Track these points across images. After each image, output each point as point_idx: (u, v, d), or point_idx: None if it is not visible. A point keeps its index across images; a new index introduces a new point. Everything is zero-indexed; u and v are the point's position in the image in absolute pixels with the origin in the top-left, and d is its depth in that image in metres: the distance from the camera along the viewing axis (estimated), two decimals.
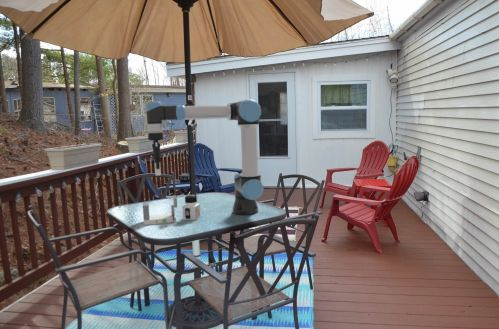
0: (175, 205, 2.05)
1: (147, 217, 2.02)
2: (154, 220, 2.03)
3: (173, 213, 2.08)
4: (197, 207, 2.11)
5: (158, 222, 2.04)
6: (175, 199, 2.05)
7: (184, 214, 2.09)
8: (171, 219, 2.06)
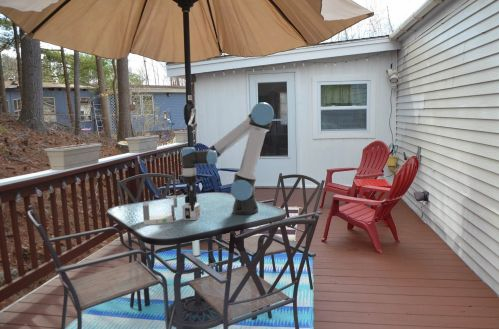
0: (175, 205, 2.05)
1: (147, 217, 2.02)
2: (154, 220, 2.03)
3: (173, 213, 2.08)
4: (197, 207, 2.11)
5: (158, 222, 2.04)
6: (175, 199, 2.05)
7: (184, 214, 2.09)
8: (171, 219, 2.06)
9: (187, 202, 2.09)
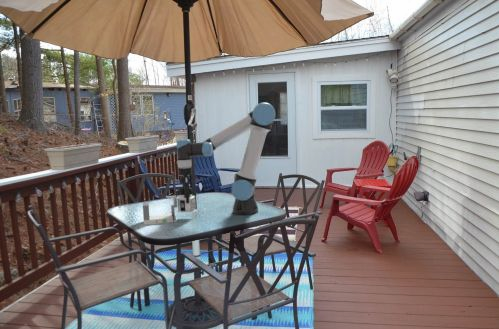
0: (175, 205, 2.05)
1: (147, 217, 2.02)
2: (154, 220, 2.03)
3: (173, 213, 2.08)
4: (192, 199, 2.10)
5: (158, 222, 2.04)
6: (175, 199, 2.05)
7: (179, 206, 2.08)
8: (171, 219, 2.06)
9: (182, 194, 2.08)
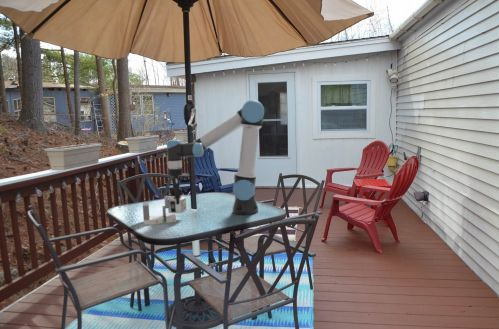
0: (166, 206, 2.04)
1: (147, 217, 2.02)
2: (154, 220, 2.03)
3: (164, 214, 2.07)
4: (183, 200, 2.08)
5: (158, 222, 2.04)
6: (166, 200, 2.04)
7: (169, 207, 2.07)
8: (171, 219, 2.06)
9: (173, 195, 2.06)
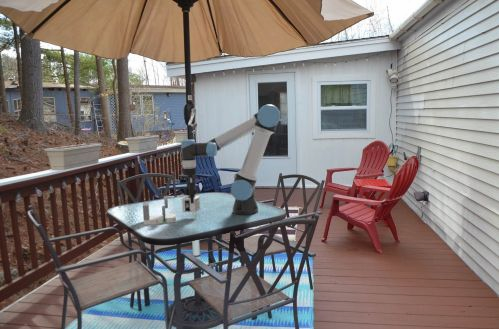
0: (166, 206, 2.04)
1: (147, 217, 2.02)
2: (154, 220, 2.03)
3: (164, 214, 2.07)
4: (197, 199, 2.10)
5: (158, 222, 2.04)
6: (166, 200, 2.04)
7: (184, 206, 2.09)
8: (171, 219, 2.06)
9: (187, 194, 2.08)
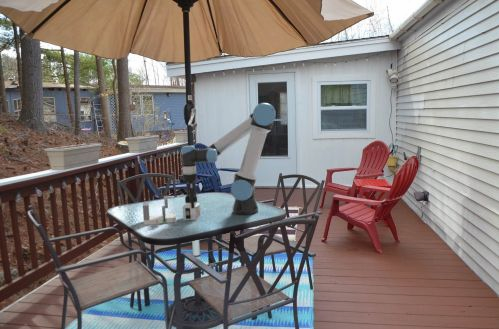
0: (166, 206, 2.04)
1: (147, 217, 2.02)
2: (154, 220, 2.03)
3: (164, 214, 2.07)
4: (197, 207, 2.11)
5: (158, 222, 2.04)
6: (166, 200, 2.04)
7: (184, 214, 2.09)
8: (171, 219, 2.06)
9: (187, 202, 2.09)
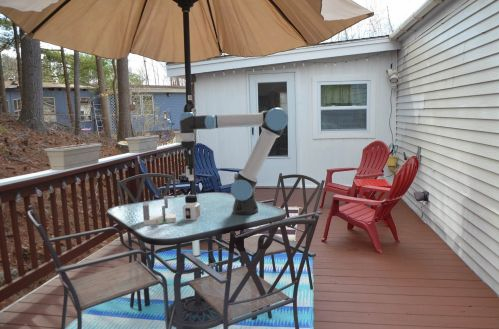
0: (166, 206, 2.04)
1: (147, 217, 2.02)
2: (154, 220, 2.03)
3: (164, 214, 2.07)
4: (197, 207, 2.11)
5: (158, 222, 2.04)
6: (166, 200, 2.04)
7: (184, 214, 2.09)
8: (171, 219, 2.06)
9: (187, 202, 2.09)
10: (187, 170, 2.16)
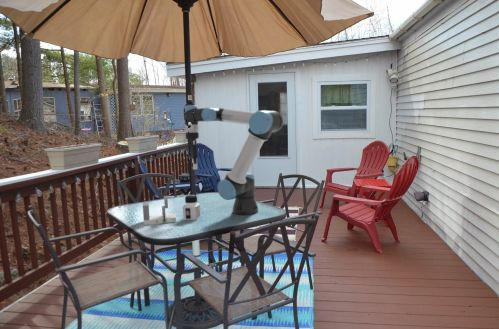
0: (166, 206, 2.04)
1: (147, 217, 2.02)
2: (154, 220, 2.03)
3: (164, 214, 2.07)
4: (197, 207, 2.11)
5: (158, 222, 2.04)
6: (166, 200, 2.04)
7: (184, 214, 2.09)
8: (171, 219, 2.06)
9: (187, 202, 2.09)
10: None
